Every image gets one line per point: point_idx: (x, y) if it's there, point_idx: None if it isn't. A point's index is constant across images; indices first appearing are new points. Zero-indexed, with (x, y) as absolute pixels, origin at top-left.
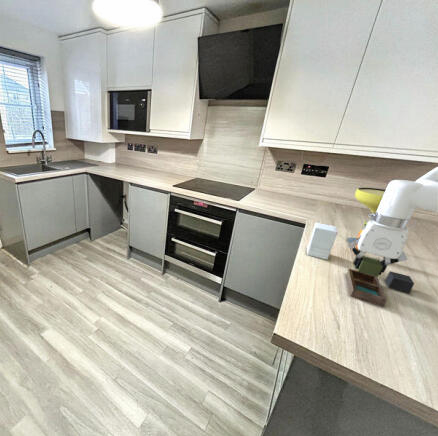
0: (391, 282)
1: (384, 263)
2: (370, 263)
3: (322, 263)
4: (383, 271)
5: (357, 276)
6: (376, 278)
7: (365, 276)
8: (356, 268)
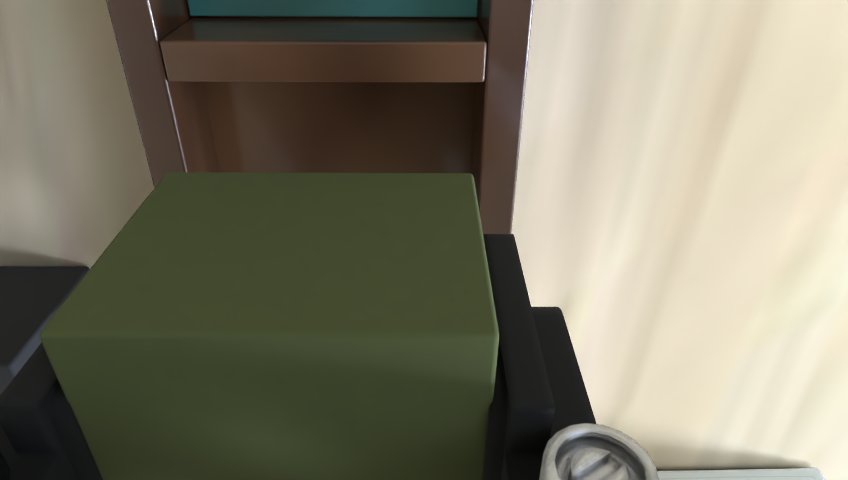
0: (48, 314)
1: (16, 470)
2: (316, 327)
3: (699, 381)
4: None
5: None
6: None
7: None
8: (500, 236)
